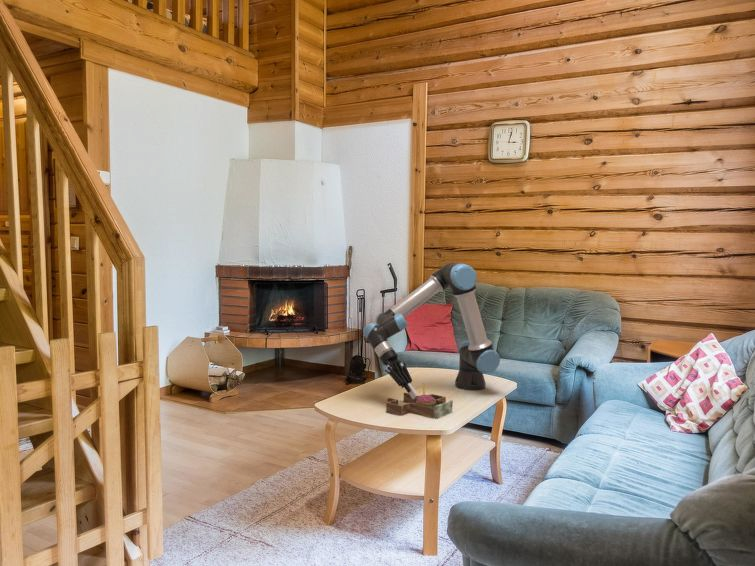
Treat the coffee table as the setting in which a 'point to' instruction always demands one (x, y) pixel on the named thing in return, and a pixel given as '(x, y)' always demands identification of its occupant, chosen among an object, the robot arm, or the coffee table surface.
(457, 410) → the coffee table surface
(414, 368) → the coffee table surface
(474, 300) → the robot arm
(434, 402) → the cupcake
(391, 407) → the trap lane
